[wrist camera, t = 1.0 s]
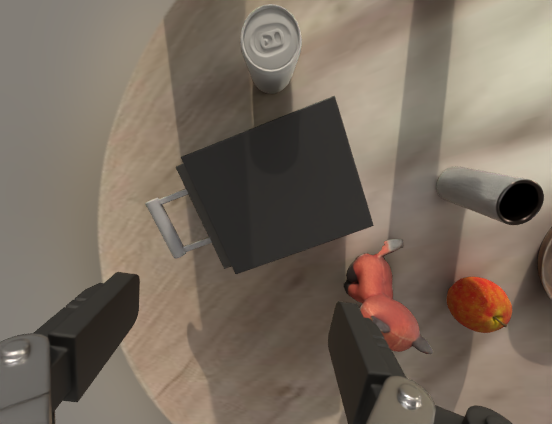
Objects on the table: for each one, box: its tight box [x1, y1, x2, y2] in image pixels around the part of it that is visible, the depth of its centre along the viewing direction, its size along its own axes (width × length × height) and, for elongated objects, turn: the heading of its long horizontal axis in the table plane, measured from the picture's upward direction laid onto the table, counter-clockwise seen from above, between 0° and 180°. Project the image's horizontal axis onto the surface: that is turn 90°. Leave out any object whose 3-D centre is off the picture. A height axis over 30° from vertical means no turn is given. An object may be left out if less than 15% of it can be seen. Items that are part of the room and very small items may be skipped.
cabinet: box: [181, 96, 373, 274], centre depth 31 cm, size 15×13×10 cm
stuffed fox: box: [344, 239, 433, 354], centre depth 34 cm, size 8×11×12 cm
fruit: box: [447, 277, 512, 333], centre depth 37 cm, size 7×7×8 cm
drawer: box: [145, 164, 232, 269], centre depth 32 cm, size 19×12×8 cm, turn 111°
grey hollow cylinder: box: [437, 167, 544, 225], centre depth 32 cm, size 4×4×10 cm
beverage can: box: [240, 4, 302, 94], centre depth 27 cm, size 5×5×12 cm
